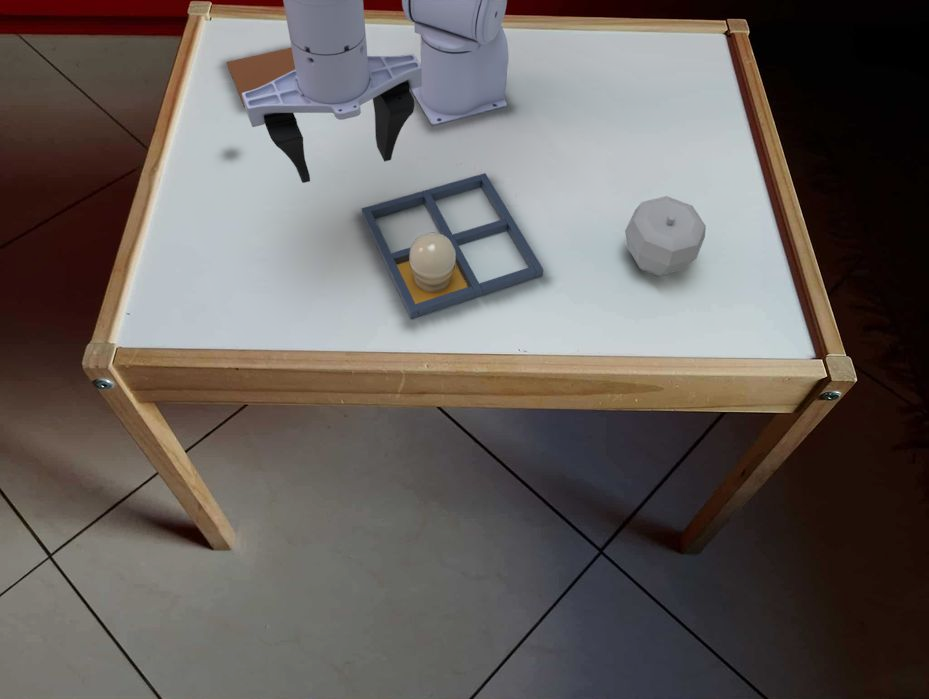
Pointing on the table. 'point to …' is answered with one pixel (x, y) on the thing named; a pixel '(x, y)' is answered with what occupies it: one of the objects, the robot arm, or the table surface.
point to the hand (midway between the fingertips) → (344, 164)
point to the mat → (260, 69)
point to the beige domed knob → (432, 262)
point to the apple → (664, 235)
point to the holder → (457, 288)
